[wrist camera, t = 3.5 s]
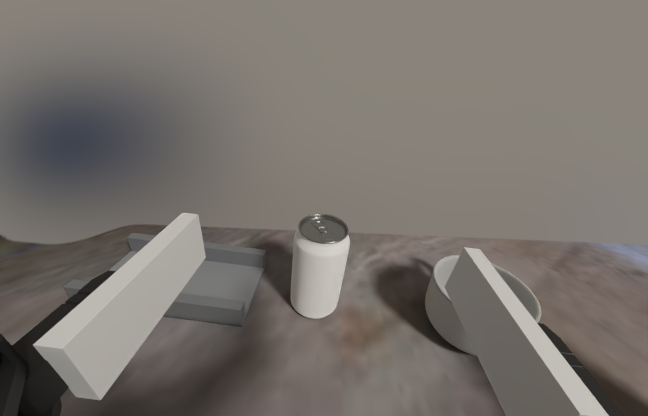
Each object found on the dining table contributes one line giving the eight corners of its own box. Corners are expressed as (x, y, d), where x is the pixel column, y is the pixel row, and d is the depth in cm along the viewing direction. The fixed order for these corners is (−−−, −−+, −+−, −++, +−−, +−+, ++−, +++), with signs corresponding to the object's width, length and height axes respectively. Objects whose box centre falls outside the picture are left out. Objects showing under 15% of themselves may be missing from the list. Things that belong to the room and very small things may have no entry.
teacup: (503, 394, 25) (546, 350, 21) (404, 331, 30) (424, 286, 26) (507, 307, 36) (537, 267, 32) (432, 271, 41) (450, 232, 37)
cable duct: (73, 304, 29) (62, 287, 27) (138, 248, 38) (132, 232, 36) (242, 326, 28) (240, 310, 27) (266, 264, 37) (266, 249, 36)
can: (299, 327, 29) (307, 250, 23) (284, 287, 34) (287, 215, 28) (346, 311, 32) (363, 239, 26) (325, 276, 37) (336, 208, 31)
